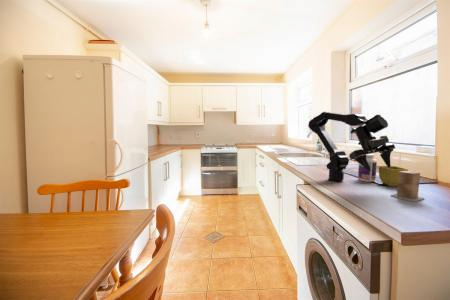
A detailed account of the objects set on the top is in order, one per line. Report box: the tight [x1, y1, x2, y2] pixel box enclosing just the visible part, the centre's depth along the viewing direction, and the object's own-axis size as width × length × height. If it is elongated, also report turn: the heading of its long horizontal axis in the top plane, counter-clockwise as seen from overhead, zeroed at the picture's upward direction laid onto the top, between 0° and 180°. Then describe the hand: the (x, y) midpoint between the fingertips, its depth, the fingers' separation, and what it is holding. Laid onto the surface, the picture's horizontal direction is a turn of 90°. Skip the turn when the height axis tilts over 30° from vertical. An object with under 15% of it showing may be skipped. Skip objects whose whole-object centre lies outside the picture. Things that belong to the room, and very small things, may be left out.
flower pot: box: [378, 165, 409, 187], centre depth 111 cm, size 9×9×9 cm
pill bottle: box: [357, 153, 378, 183], centre depth 120 cm, size 8×8×14 cm
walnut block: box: [396, 170, 421, 199], centre depth 90 cm, size 5×5×10 cm
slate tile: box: [390, 193, 425, 203], centre depth 91 cm, size 8×8×1 cm
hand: (379, 169), depth 100 cm, fingers open, 9 cm apart
